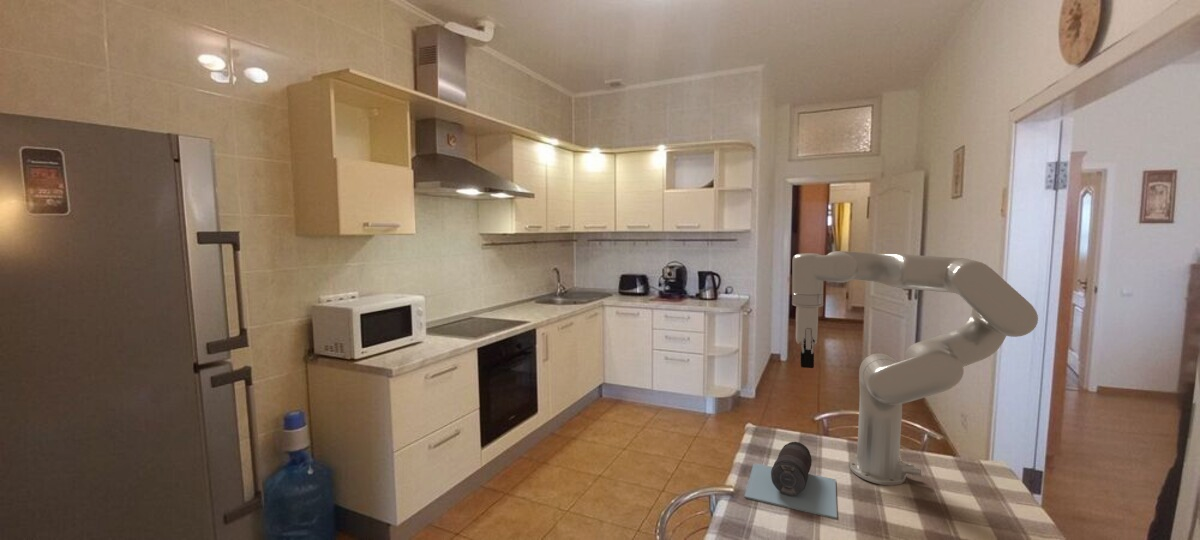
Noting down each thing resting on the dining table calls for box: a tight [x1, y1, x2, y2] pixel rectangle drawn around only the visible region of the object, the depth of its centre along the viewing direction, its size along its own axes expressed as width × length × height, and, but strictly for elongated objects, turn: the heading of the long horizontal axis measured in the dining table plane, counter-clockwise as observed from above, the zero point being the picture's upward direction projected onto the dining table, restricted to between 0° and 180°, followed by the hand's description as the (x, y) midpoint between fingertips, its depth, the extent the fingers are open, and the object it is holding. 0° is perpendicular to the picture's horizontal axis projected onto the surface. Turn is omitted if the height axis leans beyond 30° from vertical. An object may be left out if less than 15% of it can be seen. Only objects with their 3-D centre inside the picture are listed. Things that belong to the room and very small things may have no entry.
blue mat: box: [743, 462, 838, 520], centre depth 117 cm, size 20×17×1 cm
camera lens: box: [771, 441, 813, 495], centre depth 119 cm, size 8×8×15 cm
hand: (807, 366), depth 127 cm, fingers closed
